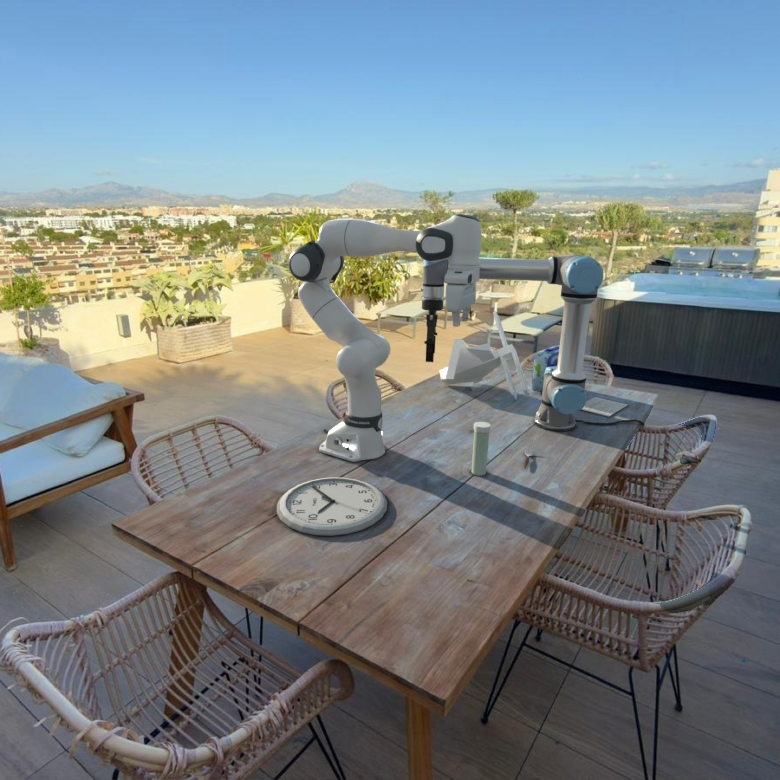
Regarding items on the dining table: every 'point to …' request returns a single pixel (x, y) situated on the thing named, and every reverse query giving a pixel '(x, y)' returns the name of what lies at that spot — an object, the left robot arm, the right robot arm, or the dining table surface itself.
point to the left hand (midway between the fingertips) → (460, 323)
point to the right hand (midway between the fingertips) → (430, 357)
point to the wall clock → (331, 506)
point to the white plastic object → (482, 362)
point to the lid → (482, 427)
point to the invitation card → (603, 406)
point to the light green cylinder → (480, 453)
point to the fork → (528, 455)
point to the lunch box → (543, 366)
